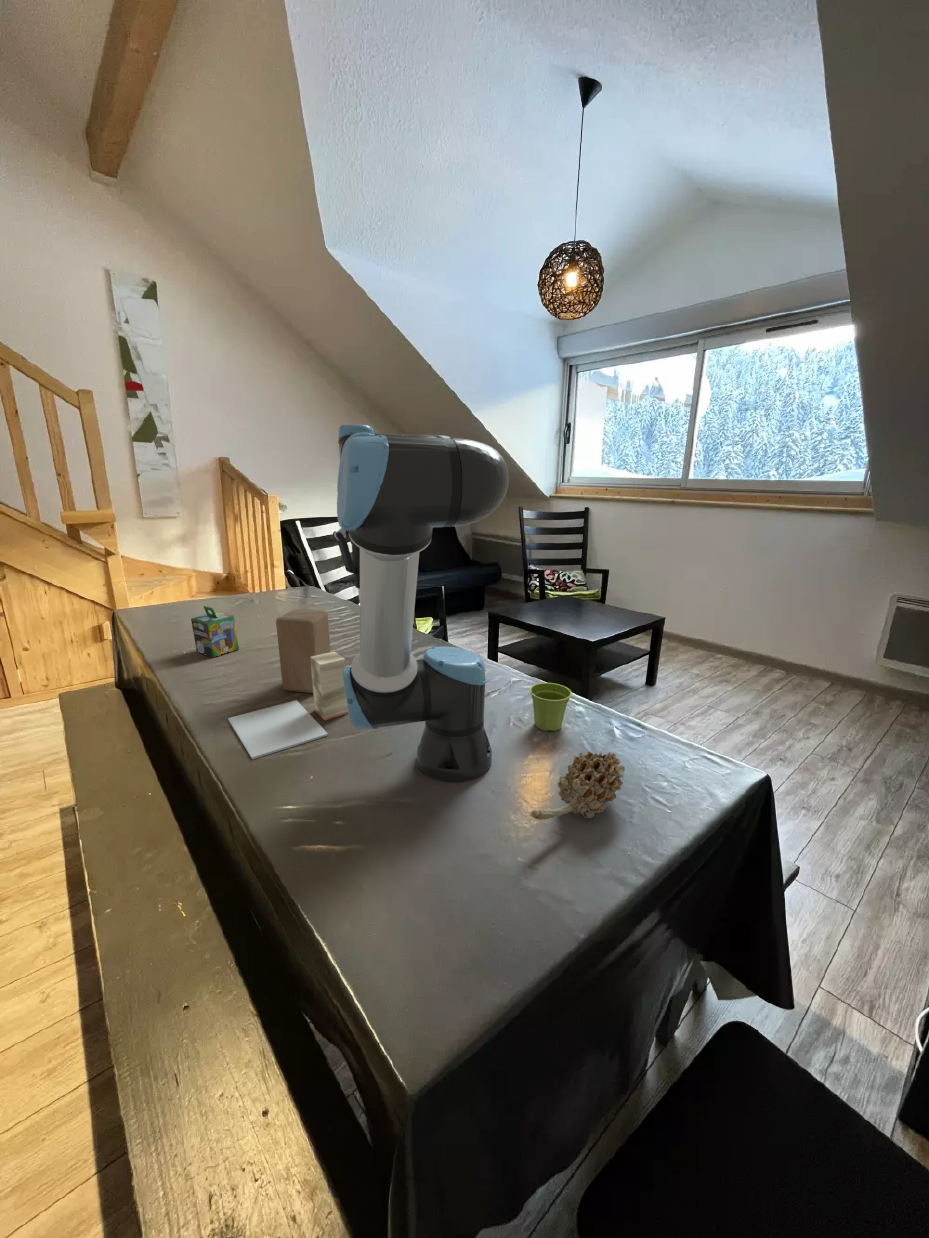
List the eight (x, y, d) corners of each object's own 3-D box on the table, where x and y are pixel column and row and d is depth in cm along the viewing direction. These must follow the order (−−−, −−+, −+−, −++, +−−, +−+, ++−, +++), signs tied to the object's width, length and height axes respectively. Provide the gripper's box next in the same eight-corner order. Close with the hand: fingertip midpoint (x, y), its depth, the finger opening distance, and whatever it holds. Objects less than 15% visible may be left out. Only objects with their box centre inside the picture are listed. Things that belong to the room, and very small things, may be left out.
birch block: (348, 713, 121) (345, 659, 117) (324, 720, 118) (320, 664, 114) (338, 704, 126) (334, 651, 122) (314, 710, 122) (310, 656, 118)
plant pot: (544, 711, 123) (546, 678, 121) (576, 725, 117) (579, 691, 114) (519, 724, 117) (521, 690, 114) (552, 740, 111) (555, 704, 108)
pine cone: (586, 777, 98) (590, 731, 95) (632, 800, 91) (638, 752, 88) (512, 833, 83) (515, 781, 80) (561, 865, 76) (566, 809, 73)
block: (316, 695, 130) (310, 621, 125) (281, 691, 132) (273, 618, 126) (333, 679, 140) (329, 610, 134) (300, 676, 142) (294, 607, 136)
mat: (328, 735, 111) (327, 733, 111) (252, 759, 102) (252, 757, 102) (296, 701, 127) (296, 700, 126) (228, 720, 117) (228, 718, 117)
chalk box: (239, 650, 161) (234, 605, 156) (212, 658, 153) (205, 612, 149) (222, 644, 165) (216, 600, 161) (195, 652, 158) (188, 607, 154)
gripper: (377, 496, 119) (381, 593, 127) (324, 498, 112) (331, 601, 119) (393, 499, 114) (396, 600, 121) (338, 501, 106) (345, 608, 113)
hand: (364, 600), depth 120 cm, fingers closed
